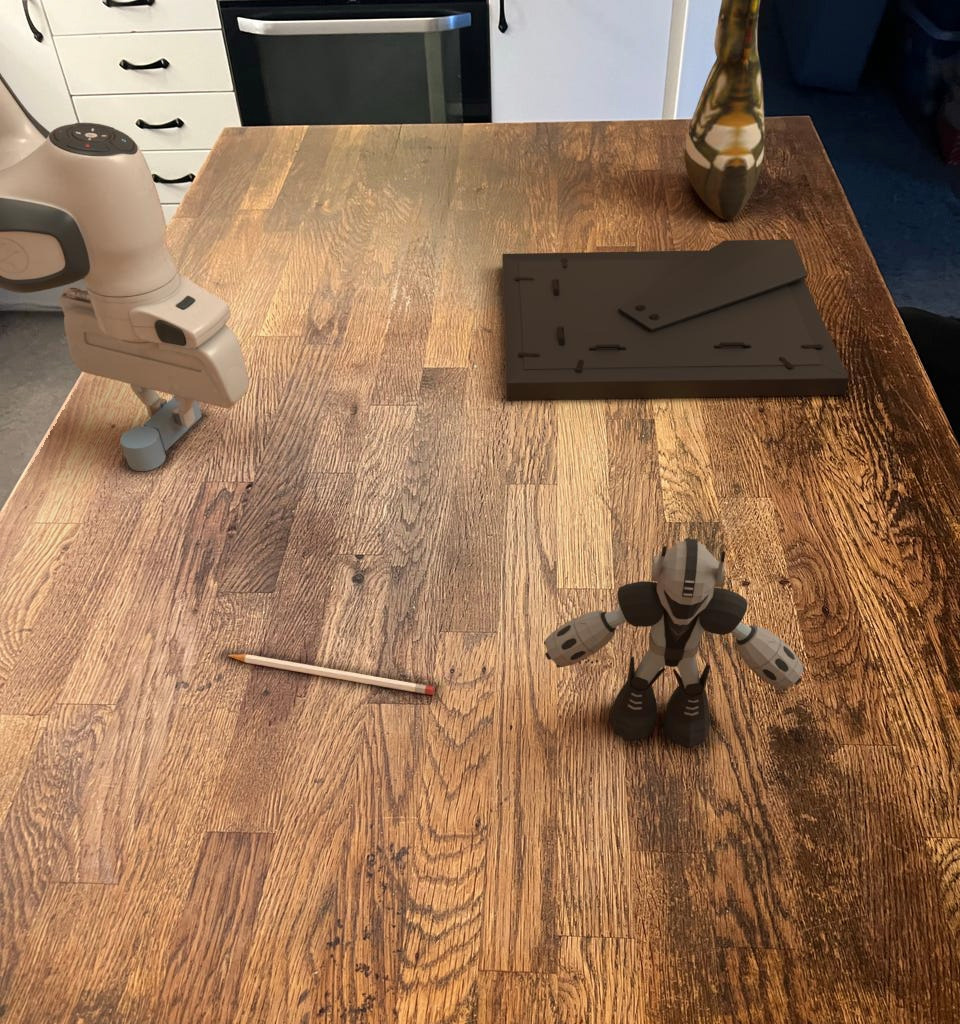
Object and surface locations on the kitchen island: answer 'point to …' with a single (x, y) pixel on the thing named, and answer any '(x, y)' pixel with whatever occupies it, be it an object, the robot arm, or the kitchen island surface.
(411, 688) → the pencil
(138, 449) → the grey mallet
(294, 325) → the kitchen island surface
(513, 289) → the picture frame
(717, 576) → the robot
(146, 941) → the kitchen island surface
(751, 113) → the statue
